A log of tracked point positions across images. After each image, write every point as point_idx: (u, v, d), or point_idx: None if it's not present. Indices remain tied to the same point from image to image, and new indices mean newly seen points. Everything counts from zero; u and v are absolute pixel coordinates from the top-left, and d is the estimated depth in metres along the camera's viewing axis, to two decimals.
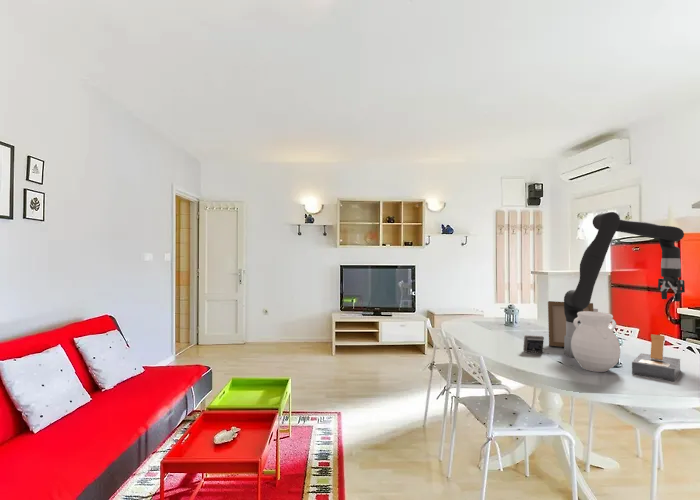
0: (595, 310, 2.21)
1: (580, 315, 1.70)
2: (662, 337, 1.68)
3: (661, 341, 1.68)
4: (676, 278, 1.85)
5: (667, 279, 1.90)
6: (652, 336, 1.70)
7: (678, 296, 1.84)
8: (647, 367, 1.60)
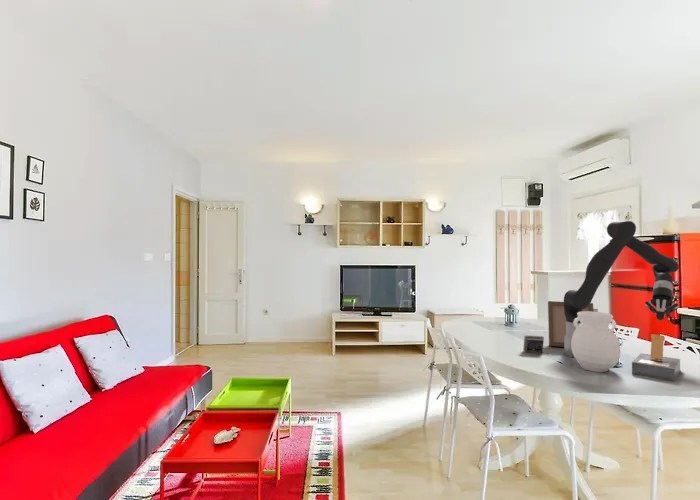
0: (595, 310, 2.21)
1: (580, 315, 1.70)
2: (662, 337, 1.68)
3: (661, 341, 1.68)
4: None
5: (659, 299, 1.84)
6: (652, 336, 1.70)
7: None
8: (647, 367, 1.60)
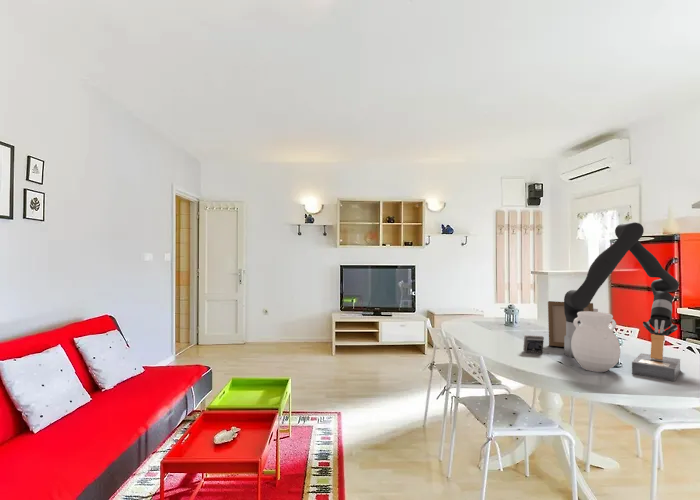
0: (595, 310, 2.21)
1: (580, 315, 1.70)
2: (662, 337, 1.68)
3: (661, 341, 1.68)
4: None
5: (658, 319, 1.77)
6: (652, 336, 1.70)
7: None
8: (647, 367, 1.60)
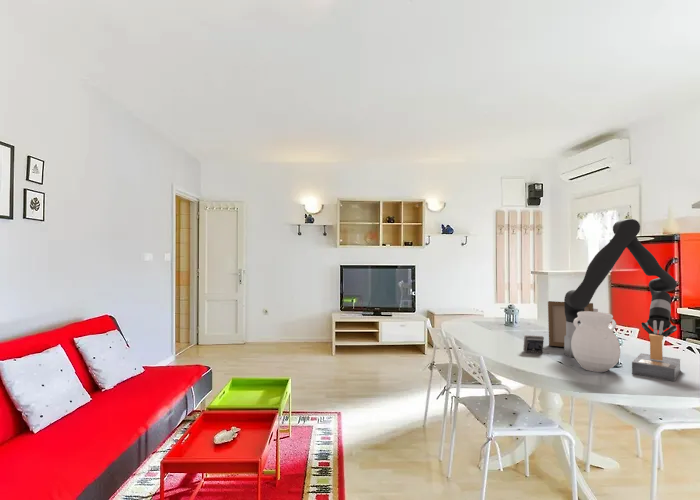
0: (595, 310, 2.21)
1: (580, 315, 1.70)
2: (660, 338, 1.64)
3: (660, 342, 1.65)
4: (669, 321, 1.71)
5: (657, 320, 1.73)
6: (650, 337, 1.67)
7: None
8: (647, 367, 1.60)
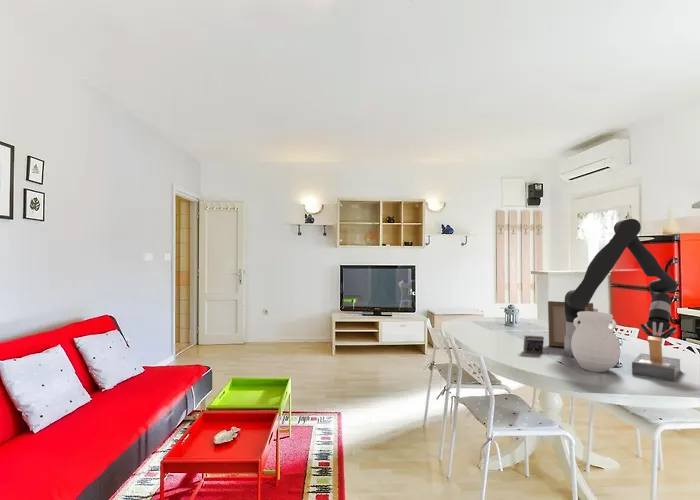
0: (595, 310, 2.21)
1: (580, 315, 1.70)
2: (659, 342, 1.62)
3: (659, 345, 1.63)
4: (669, 323, 1.69)
5: (656, 321, 1.71)
6: (649, 341, 1.64)
7: None
8: (647, 367, 1.60)
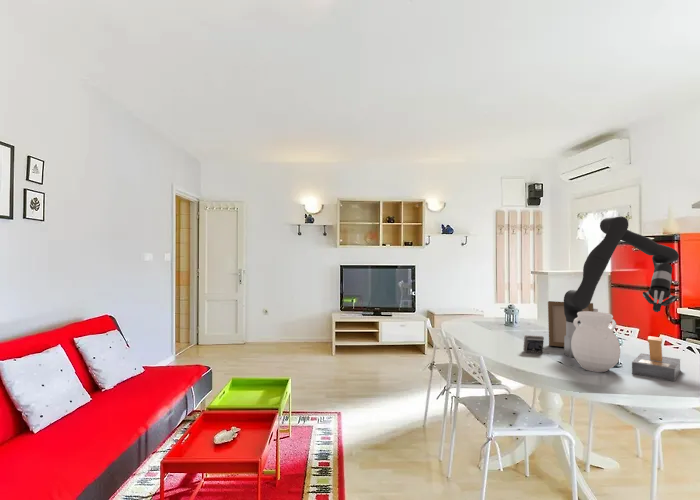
0: (595, 310, 2.21)
1: (580, 315, 1.70)
2: (659, 342, 1.62)
3: (659, 345, 1.63)
4: (669, 291, 1.82)
5: (657, 290, 1.84)
6: (649, 341, 1.64)
7: (660, 307, 1.79)
8: (647, 367, 1.60)
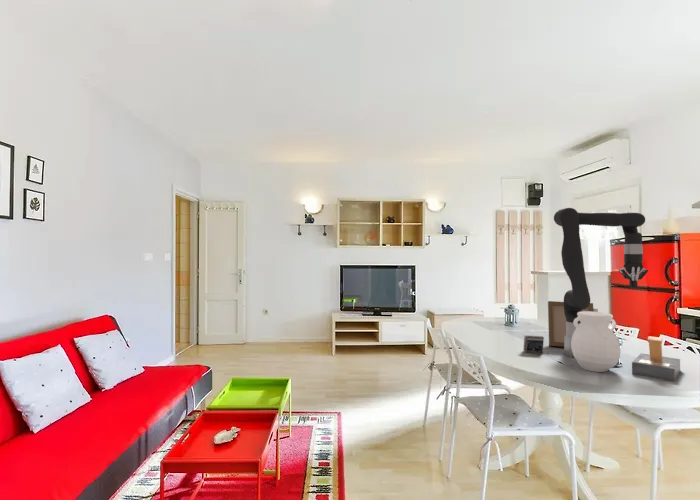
0: (595, 310, 2.21)
1: (580, 315, 1.70)
2: (659, 342, 1.62)
3: (659, 345, 1.63)
4: None
5: (633, 265, 1.88)
6: (649, 341, 1.64)
7: None
8: (647, 367, 1.60)
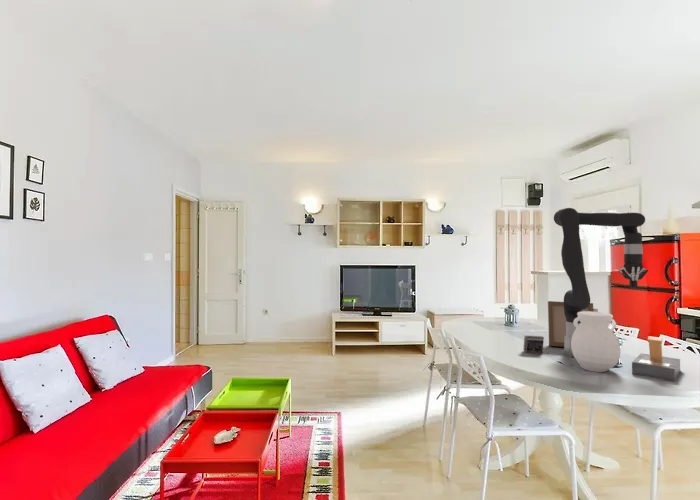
0: (595, 310, 2.21)
1: (580, 315, 1.70)
2: (659, 342, 1.62)
3: (659, 345, 1.63)
4: None
5: (633, 265, 1.88)
6: (649, 341, 1.64)
7: None
8: (647, 367, 1.60)
